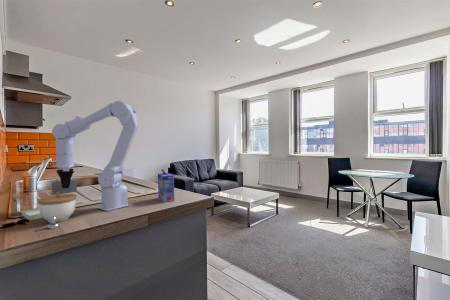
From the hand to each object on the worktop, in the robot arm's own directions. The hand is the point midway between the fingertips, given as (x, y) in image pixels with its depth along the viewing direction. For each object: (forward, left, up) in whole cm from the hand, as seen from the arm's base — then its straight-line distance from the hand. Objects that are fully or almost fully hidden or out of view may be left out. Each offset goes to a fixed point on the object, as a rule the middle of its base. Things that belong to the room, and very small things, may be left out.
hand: (65, 187), depth 90 cm
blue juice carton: (-33, +22, -9) cm, 41 cm away
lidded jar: (+7, +13, -9) cm, 17 cm away
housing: (0, 0, -2) cm, 2 cm away
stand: (+9, +1, -9) cm, 13 cm away
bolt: (+11, +20, -9) cm, 25 cm away
